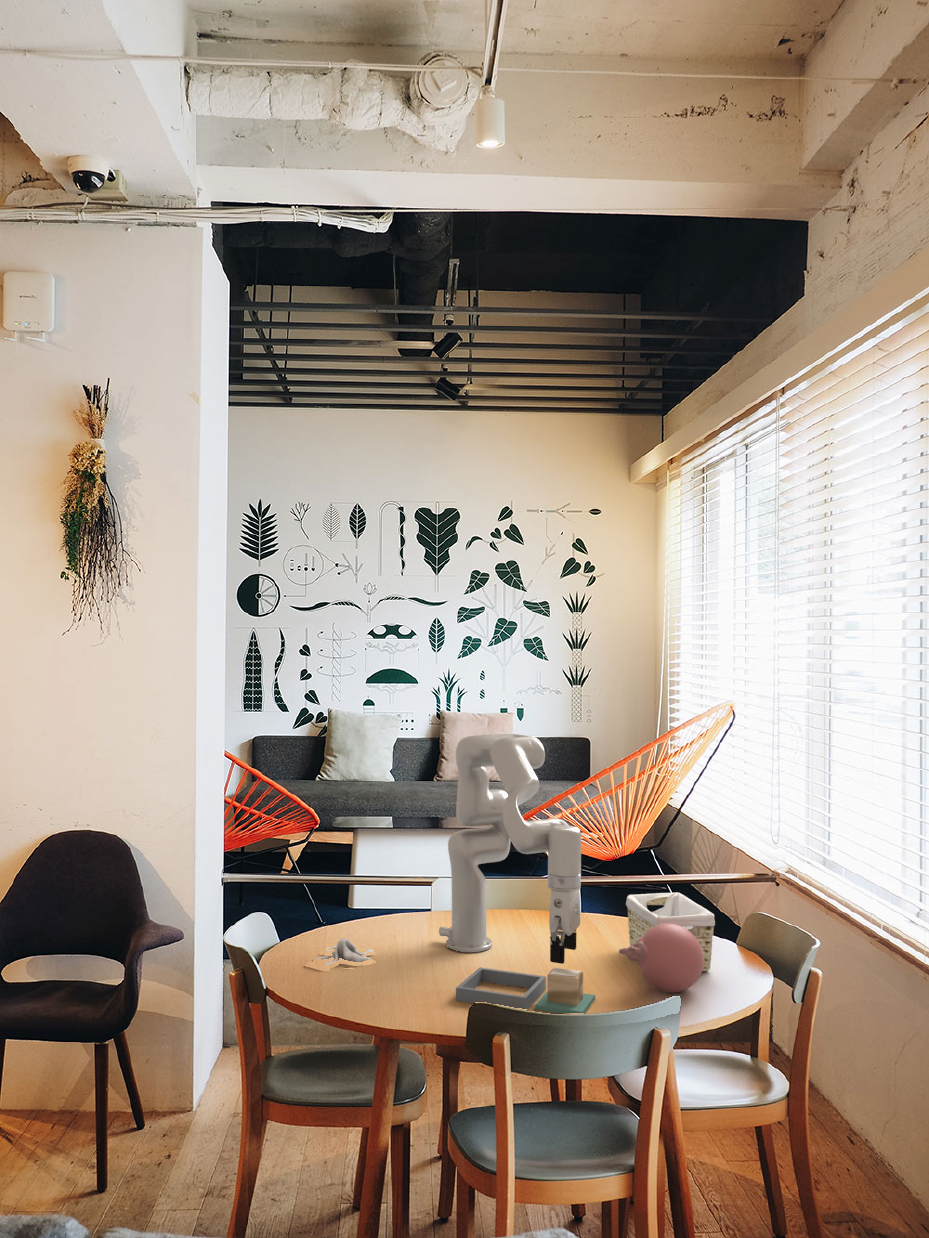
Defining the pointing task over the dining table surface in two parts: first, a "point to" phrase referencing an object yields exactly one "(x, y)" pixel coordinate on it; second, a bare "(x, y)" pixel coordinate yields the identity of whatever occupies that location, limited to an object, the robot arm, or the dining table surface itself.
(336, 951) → the cloth
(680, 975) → the pink balloon
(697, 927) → the storage basket
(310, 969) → the dining table surface
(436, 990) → the dining table surface
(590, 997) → the mat
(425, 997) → the dining table surface
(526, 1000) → the bin
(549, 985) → the label box
